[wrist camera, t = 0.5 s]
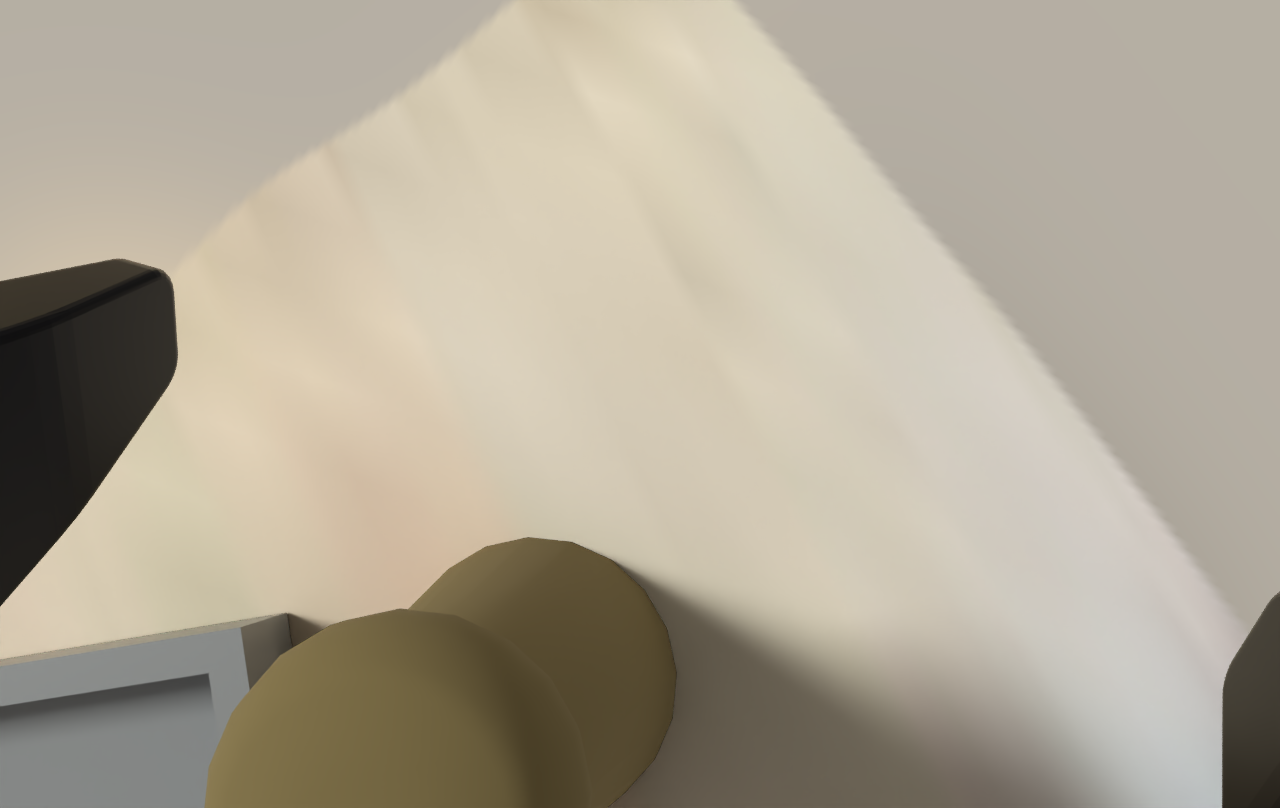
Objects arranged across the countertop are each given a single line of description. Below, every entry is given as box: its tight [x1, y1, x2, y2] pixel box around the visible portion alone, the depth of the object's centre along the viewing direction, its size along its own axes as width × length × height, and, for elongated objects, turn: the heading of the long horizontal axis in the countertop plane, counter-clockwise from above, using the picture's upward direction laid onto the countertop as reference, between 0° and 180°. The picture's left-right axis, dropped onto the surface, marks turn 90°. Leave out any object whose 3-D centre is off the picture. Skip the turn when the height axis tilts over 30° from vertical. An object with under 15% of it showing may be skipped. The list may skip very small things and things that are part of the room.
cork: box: [204, 537, 677, 808], centre depth 20 cm, size 6×6×11 cm
